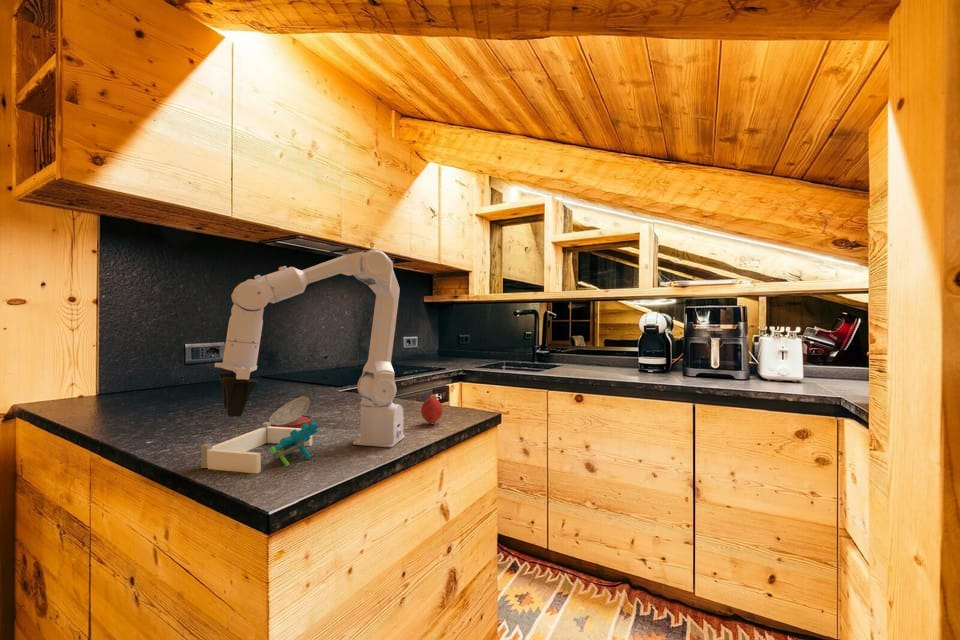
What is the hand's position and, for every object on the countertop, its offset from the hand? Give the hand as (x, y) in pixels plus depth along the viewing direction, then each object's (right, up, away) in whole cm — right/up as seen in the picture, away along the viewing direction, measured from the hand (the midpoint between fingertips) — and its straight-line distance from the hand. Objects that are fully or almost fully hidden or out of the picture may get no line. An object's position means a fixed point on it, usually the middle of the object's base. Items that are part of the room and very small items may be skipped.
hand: (232, 412), depth 77 cm
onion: (+35, -11, +32) cm, 48 cm away
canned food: (0, -11, +25) cm, 27 cm away
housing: (+2, -11, +7) cm, 13 cm away
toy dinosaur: (+9, -11, +5) cm, 15 cm away
